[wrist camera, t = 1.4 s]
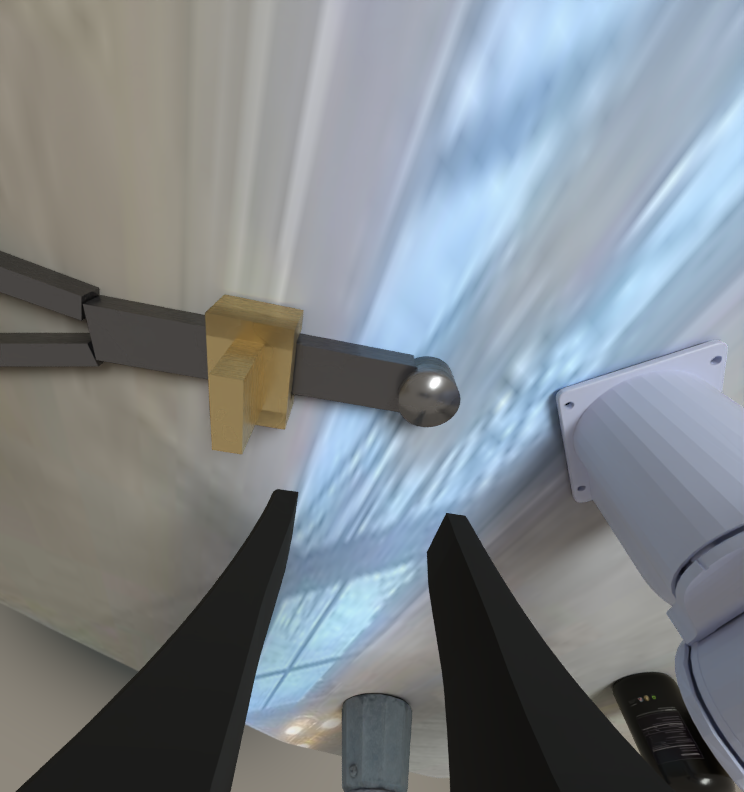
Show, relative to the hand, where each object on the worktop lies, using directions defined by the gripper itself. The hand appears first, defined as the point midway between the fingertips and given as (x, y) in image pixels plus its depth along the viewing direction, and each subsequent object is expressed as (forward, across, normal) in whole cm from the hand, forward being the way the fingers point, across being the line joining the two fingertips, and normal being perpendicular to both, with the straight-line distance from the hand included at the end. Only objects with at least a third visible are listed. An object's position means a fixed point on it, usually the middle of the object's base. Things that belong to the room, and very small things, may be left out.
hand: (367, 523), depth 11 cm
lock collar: (+9, +6, 0) cm, 11 cm away
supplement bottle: (+10, -40, +34) cm, 53 cm away
